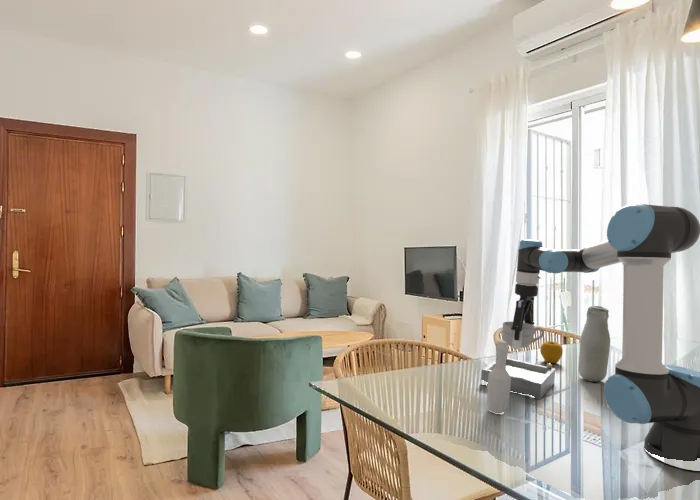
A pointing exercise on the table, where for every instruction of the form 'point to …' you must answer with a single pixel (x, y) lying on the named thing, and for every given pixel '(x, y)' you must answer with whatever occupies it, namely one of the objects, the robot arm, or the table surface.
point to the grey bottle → (595, 345)
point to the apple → (551, 351)
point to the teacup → (527, 334)
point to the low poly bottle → (499, 381)
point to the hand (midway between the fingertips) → (521, 345)
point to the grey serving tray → (526, 377)
